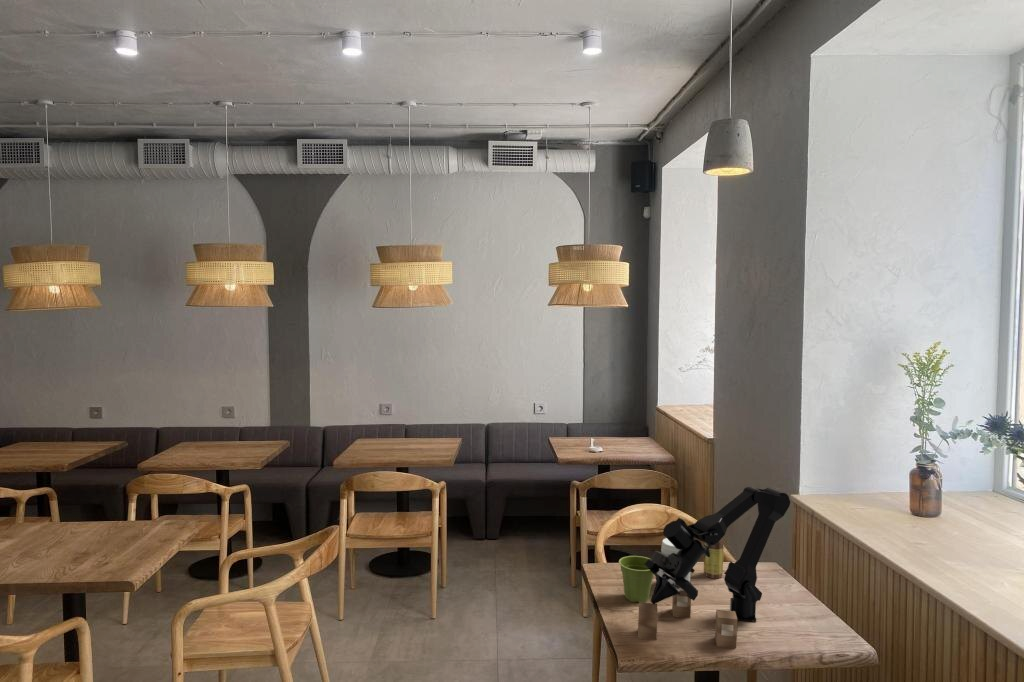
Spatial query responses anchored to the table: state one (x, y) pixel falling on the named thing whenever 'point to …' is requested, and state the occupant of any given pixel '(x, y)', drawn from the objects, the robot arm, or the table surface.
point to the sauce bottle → (714, 560)
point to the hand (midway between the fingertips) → (651, 602)
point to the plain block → (647, 621)
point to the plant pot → (636, 578)
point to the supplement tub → (671, 551)
